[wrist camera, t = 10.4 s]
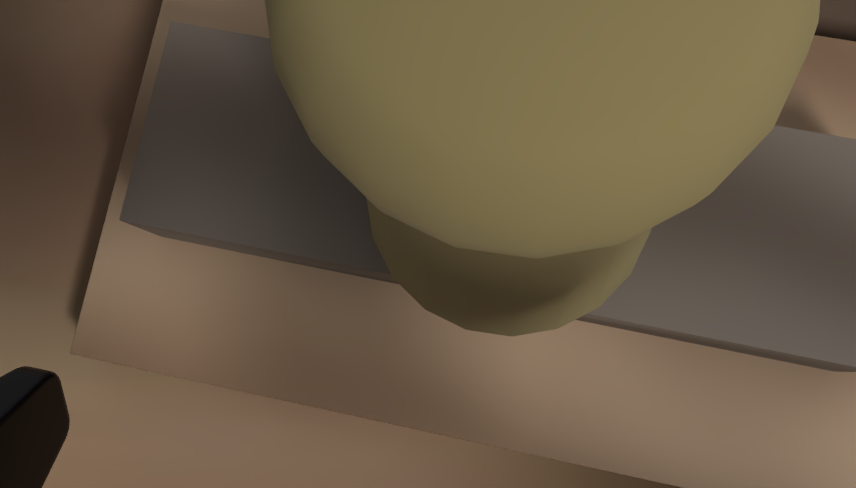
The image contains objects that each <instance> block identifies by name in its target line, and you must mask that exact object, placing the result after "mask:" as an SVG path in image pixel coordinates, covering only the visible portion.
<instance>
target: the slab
mask: <svg viewBox="0 0 856 488" xmlns="http://www.w3.org/2000/svg"><path fill="white" fill-rule="evenodd" d="M70 354H74V355H78V356H83V357H87V358H92V359H97V360H101V361H106V362H110V363H115V364H119V365H124V366H129V367H133V368H138V369H142V370H147V371H151V372H156V373H161V374H165V375H170V376H174V377H179V378H184V379H188V380H193V381H197V382H202V383H206V384H211V385H216V386H220V387H225V388H229V389H234V390H238V391H243V392H248V393H252V394H257V395H261V396H266V397H270V398H275V399H280V400H284V401H289V402H293V403H298V404H302V405H307V406H312V407H316V408H321V409H325V410H330V411H335V412H339V413H344V414H348V415H353V416H357V417H362V418H367V419H371V420H376V421H380V422H385V423H389V424H394V425H399V426H403V427H408V428H412V429H417V430H421V431H426V432H431V433H435V434H440V435H444V436H449V437H454V438H458V439H463V440H467V441H472V442H476V443H481V444H486V445H490V446H495V447H499V448H504V449H508V450H513V451H518V452H522V453H527V454H531V455H536V456H540V457H545V458H550V459H554V460H559V461H563V462H568V463H572V464H577V465H582V466H586V467H591V468H595V469H600V470H605V471H609V472H614V473H618V474H623V475H627V476H632V477H637V478H641V479H646V480H650V481H655V482H659V483H664V484H669V485H673V486H678V487H682V488H856V42H854V41H848V40H842V39H836V38H829V37H823V36H817V35H814V37H813V40H812V43H811V46H810V49H809V52H808V54H807V56H806V59H805V61H804V63H803V65H802V67H801V69H800V72H799V74H798V76H797V78H796V80H795V82H794V85H793V87H792V89H791V91H790V93H789V95H788V98H787V100H786V102H785V104H784V106H783V108H782V111H781V113H780V115H779V117H778V119H777V121H776V124H775V126H774V128H773V130H772V131H771V132H770V133H769V134H768V135H767V136H766V137H765V138H764V139H763V140H762V141H761V142H760V143H759V144H758V145H757V146H756V147H755V148H754V149H753V150H752V151H751V153H750V154H749V155H748V156H747V157H746V158H745V159H744V160H743V161H742V162H741V163H740V164H739V165H738V166H737V167H736V168H735V169H734V170H733V171H732V172H731V173H730V174H729V175H728V176H727V177H726V179H725V180H724V181H723V182H722V183H721V184H720V185H719V186H718V187H717V188H716V189H715V190H714V191H713V192H712V193H711V194H710V195H708V196H707V197H705V198H704V199H702V200H701V201H700V202H698V203H697V204H695V205H694V206H692V207H690V208H688V209H686V210H684V211H682V212H681V213H679V214H677V215H675V216H673V217H671V218H669V219H667V220H665V221H663V222H662V223H660V224H658V225H656V226H654V227H652V229H651V232H650V234H649V237H648V239H647V241H646V243H645V245H644V247H643V249H642V251H641V253H640V256H639V258H638V260H637V262H636V264H635V266H634V268H633V270H632V272H631V274H630V275H629V277H628V278H627V279H626V280H625V281H624V282H623V283H622V284H621V285H620V286H619V287H618V288H617V289H616V290H615V291H614V292H613V293H612V294H611V295H610V296H609V297H608V298H607V299H606V300H605V301H604V302H603V304H602V305H601V306H600V307H599V308H597V309H595V310H593V311H591V312H589V313H587V314H585V315H583V316H581V317H580V318H578V319H576V320H574V321H572V322H570V323H568V324H566V325H564V326H562V327H561V328H559V329H555V330H549V331H543V332H537V333H531V334H525V335H519V336H513V337H511V336H504V335H497V334H490V333H484V332H477V331H470V330H465V329H463V328H461V327H459V326H457V325H455V324H453V323H451V322H449V321H447V320H445V319H443V318H441V317H439V316H437V315H435V314H433V313H431V312H429V311H427V310H425V309H424V308H423V307H422V306H421V305H420V304H419V303H418V302H417V301H416V300H415V299H414V298H413V297H412V296H411V295H410V294H409V293H408V292H407V291H406V290H405V289H404V288H403V287H402V286H401V285H400V284H399V283H398V282H397V281H396V280H395V279H394V278H393V277H392V275H391V273H390V271H389V269H388V267H387V265H386V263H385V261H384V260H383V258H382V256H381V254H380V252H379V250H378V248H377V246H376V244H375V242H374V240H373V238H372V231H371V225H370V219H369V212H368V206H367V199H366V197H365V196H364V195H363V194H362V193H361V192H360V191H359V190H358V189H357V188H356V187H355V186H354V185H353V184H352V183H351V182H350V181H349V180H348V179H347V178H346V177H345V176H344V175H343V174H342V173H341V172H339V171H338V170H337V169H336V168H335V167H334V166H333V165H332V164H331V163H330V162H329V161H328V160H327V159H326V158H325V157H324V156H323V155H322V153H321V152H320V151H319V150H318V149H317V148H316V147H315V145H314V144H313V143H312V142H311V140H310V138H309V136H308V134H307V132H306V130H305V128H304V126H303V124H302V122H301V120H300V119H299V117H298V115H297V113H296V111H295V109H294V107H293V105H292V103H291V101H290V99H289V97H288V95H287V93H286V91H285V89H284V87H283V85H282V83H281V81H280V79H279V77H278V75H277V73H276V71H275V70H274V64H273V57H272V50H271V43H270V36H269V28H268V21H267V14H266V7H265V0H163V2H162V5H161V9H160V13H159V17H158V21H157V24H156V28H155V32H154V36H153V40H152V43H151V47H150V51H149V55H148V59H147V62H146V66H145V70H144V74H143V78H142V81H141V85H140V89H139V93H138V97H137V100H136V104H135V108H134V112H133V116H132V119H131V123H130V127H129V131H128V135H127V138H126V142H125V146H124V150H123V154H122V157H121V161H120V165H119V169H118V173H117V176H116V180H115V184H114V188H113V192H112V195H111V199H110V203H109V207H108V211H107V214H106V218H105V222H104V226H103V230H102V233H101V237H100V241H99V245H98V248H97V252H96V256H95V260H94V264H93V267H92V271H91V275H90V279H89V283H88V286H87V290H86V294H85V298H84V302H83V305H82V309H81V313H80V317H79V321H78V324H77V328H76V332H75V336H74V340H73V343H72V347H71V351H70Z"/></svg>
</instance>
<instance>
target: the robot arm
mask: <svg viewBox="0 0 856 488" xmlns="http://www.w3.org/2000/svg"><path fill="white" fill-rule="evenodd" d="M69 422H70V419H69V413H68V409H67V405H66V401H65V397H64V393H63V389H62V385H61V381H60V379H59V377H58V376H57V375H56V374H55V373H54V372H51V371H47V370H42V369H38V368H33V367H26V366H25V367H20V368H17V369H15V370H12V371H11V372H9V373H7V374H5V375H3V376H2V377H0V488H42V486H43V484H44V482H45V480H46V478H47V476H48V474H49V472H50V470H51V468H52V466H53V464H54V462H55V460H56V457H57V455H58V453H59V451H60V449H61V447H62V445H63V443H64V441H65V439H66V436H67V433H68V430H69Z"/></svg>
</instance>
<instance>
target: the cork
mask: <svg viewBox="0 0 856 488" xmlns="http://www.w3.org/2000/svg"><path fill="white" fill-rule="evenodd" d="M265 7H266V14H267V21H268V28H269V36H270V43H271V50H272V57H273V64H274V70H275V71H276V73H277V75H278V77H279V79H280V81H281V83H282V85H283V87H284V89H285V91H286V93H287V95H288V97H289V99H290V101H291V103H292V105H293V107H294V109H295V111H296V113H297V115H298V117H299V119H300V120H301V122H302V124H303V126H304V128H305V130H306V132H307V134H308V136H309V138H310V140H311V142H312V143H313V144H314V145H315V147H316V148H317V149H318V150H319V151H320V152H321V153H322V155H323V156H324V157H325V158H326V159H327V160H328V161H329V162H330V163H331V164H332V165H333V166H334V167H335V168H336V169H337V170H338V171H339V172H341V173H342V174H343V175H344V176H345V177H346V178H347V179H348V180H349V181H350V182H351V183H352V184H353V185H354V186H355V187H356V188H357V189H358V190H359V191H360V192H361V193H362V194H363V195H364V196H365V197H366V199H367V206H368V212H369V219H370V225H371V231H372V238H373V240H374V242H375V244H376V246H377V248H378V250H379V252H380V254H381V256H382V258H383V260H384V261H385V263H386V265H387V267H388V269H389V271H390V273H391V275H392V277H393V278H394V279H395V280H396V281H397V282H398V283H399V284H400V285H401V286H402V287H403V288H404V289H405V290H406V291H407V292H408V293H409V294H410V295H411V296H412V297H413V298H414V299H415V300H416V301H417V302H418V303H419V304H420V305H421V306H422V307H423V308H424V309H425V310H427V311H429V312H431V313H433V314H435V315H437V316H439V317H441V318H443V319H445V320H447V321H449V322H451V323H453V324H455V325H457V326H459V327H461V328H463V329H465V330H470V331H477V332H484V333H490V334H497V335H504V336H511V337H513V336H519V335H525V334H531V333H537V332H543V331H549V330H555V329H559V328H561V327H562V326H564V325H566V324H568V323H570V322H572V321H574V320H576V319H578V318H580V317H581V316H583V315H585V314H587V313H589V312H591V311H593V310H595V309H597V308H599V307H600V306H601V305H602V304H603V302H604V301H605V300H606V299H607V298H608V297H609V296H610V295H611V294H612V293H613V292H614V291H615V290H616V289H617V288H618V287H619V286H620V285H621V284H622V283H623V282H624V281H625V280H626V279H627V278H628V277H629V275H630V274H631V272H632V270H633V268H634V266H635V264H636V262H637V260H638V258H639V256H640V253H641V251H642V249H643V247H644V245H645V243H646V241H647V239H648V237H649V234H650V232H651V229H652V227H654V226H656V225H658V224H660V223H662V222H663V221H665V220H667V219H669V218H671V217H673V216H675V215H677V214H679V213H681V212H682V211H684V210H686V209H688V208H690V207H692V206H694V205H695V204H697V203H698V202H700V201H701V200H702V199H704V198H705V197H707V196H708V195H710V194H711V193H712V192H713V191H714V190H715V189H716V188H717V187H718V186H719V185H720V184H721V183H722V182H723V181H724V180H725V179H726V177H727V176H728V175H729V174H730V173H731V172H732V171H733V170H734V169H735V168H736V167H737V166H738V165H739V164H740V163H741V162H742V161H743V160H744V159H745V158H746V157H747V156H748V155H749V154H750V153H751V151H752V150H753V149H754V148H755V147H756V146H757V145H758V144H759V143H760V142H761V141H762V140H763V139H764V138H765V137H766V136H767V135H768V134H769V133H770V132H771V131H772V130H773V128H774V126H775V124H776V121H777V119H778V117H779V115H780V113H781V111H782V108H783V106H784V104H785V102H786V100H787V98H788V95H789V93H790V91H791V89H792V87H793V85H794V82H795V80H796V78H797V76H798V74H799V72H800V69H801V67H802V65H803V63H804V61H805V59H806V56H807V54H808V52H809V49H810V46H811V43H812V40H813V37H814V34H815V31H816V28H817V25H818V21H819V10H820V0H265Z"/></svg>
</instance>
